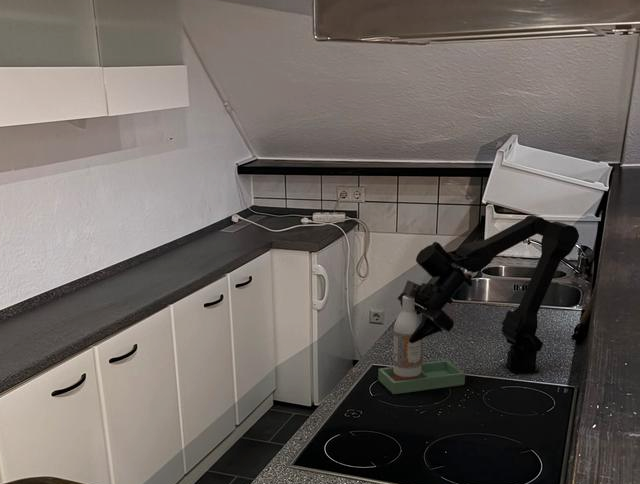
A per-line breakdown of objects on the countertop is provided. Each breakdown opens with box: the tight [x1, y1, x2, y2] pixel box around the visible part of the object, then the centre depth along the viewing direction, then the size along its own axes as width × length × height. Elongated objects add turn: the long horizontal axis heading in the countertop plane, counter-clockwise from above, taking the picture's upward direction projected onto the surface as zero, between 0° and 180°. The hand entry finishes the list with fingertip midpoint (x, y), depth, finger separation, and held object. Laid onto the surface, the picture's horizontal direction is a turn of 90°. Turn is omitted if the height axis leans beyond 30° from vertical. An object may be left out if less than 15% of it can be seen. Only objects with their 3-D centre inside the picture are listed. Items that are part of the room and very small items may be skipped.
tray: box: [377, 359, 466, 395], centre depth 195 cm, size 19×10×3 cm, turn 105°
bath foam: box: [392, 295, 423, 377], centre depth 188 cm, size 7×7×20 cm
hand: (403, 337), depth 188 cm, fingers closed on bath foam, 7 cm apart
